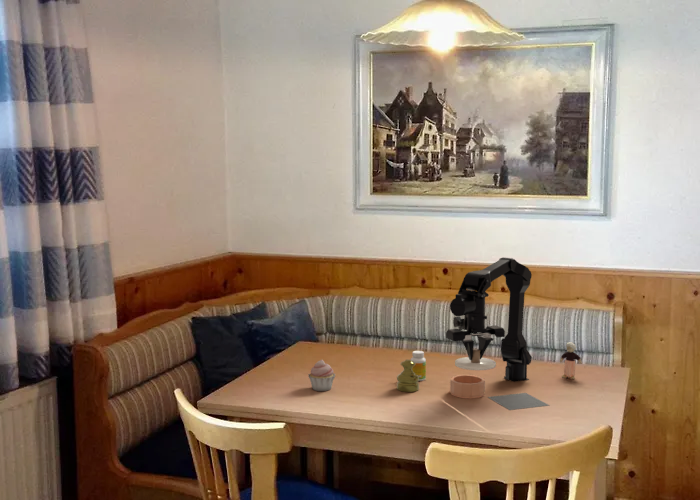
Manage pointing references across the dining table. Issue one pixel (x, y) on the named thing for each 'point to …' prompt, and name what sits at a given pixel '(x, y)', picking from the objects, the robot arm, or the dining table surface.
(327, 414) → the dining table surface
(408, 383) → the olive green figurine
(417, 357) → the supplement bottle
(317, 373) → the cupcake
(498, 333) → the robot arm
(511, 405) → the mat
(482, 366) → the lid
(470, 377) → the bowl
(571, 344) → the grandmother figurine
